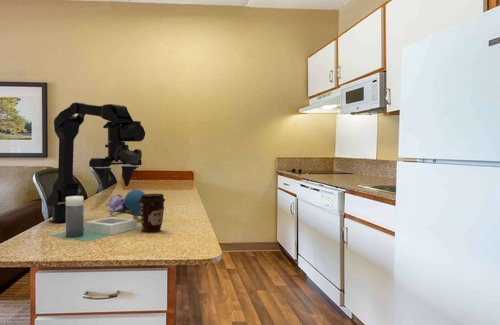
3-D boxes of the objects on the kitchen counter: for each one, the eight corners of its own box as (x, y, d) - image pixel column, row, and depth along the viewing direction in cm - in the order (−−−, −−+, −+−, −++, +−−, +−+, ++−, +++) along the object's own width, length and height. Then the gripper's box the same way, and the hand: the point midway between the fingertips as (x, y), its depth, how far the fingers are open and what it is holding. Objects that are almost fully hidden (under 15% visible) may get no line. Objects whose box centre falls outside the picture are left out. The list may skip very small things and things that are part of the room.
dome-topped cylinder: (62, 236, 122) (62, 197, 122) (75, 233, 127) (75, 195, 126) (73, 238, 120) (73, 198, 120) (87, 235, 124) (87, 196, 124)
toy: (129, 206, 152) (85, 191, 170) (128, 229, 153) (83, 212, 171) (180, 199, 174) (135, 186, 191) (178, 220, 175) (134, 205, 192)
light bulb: (140, 223, 151) (141, 191, 150) (120, 221, 152) (120, 190, 152) (150, 219, 159) (151, 189, 158) (131, 218, 160) (131, 188, 160)
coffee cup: (170, 232, 135) (170, 193, 135) (156, 237, 127) (156, 196, 127) (147, 230, 138) (148, 192, 137) (133, 235, 130) (133, 195, 130)
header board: (49, 238, 123) (49, 225, 123) (109, 225, 145) (109, 214, 145) (86, 244, 116) (86, 231, 116) (143, 230, 138) (143, 218, 137)
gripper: (113, 141, 125) (113, 191, 126) (153, 142, 142) (153, 186, 142) (88, 141, 130) (88, 189, 131) (129, 142, 147) (129, 184, 147)
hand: (116, 187), depth 138 cm, fingers open, 9 cm apart
